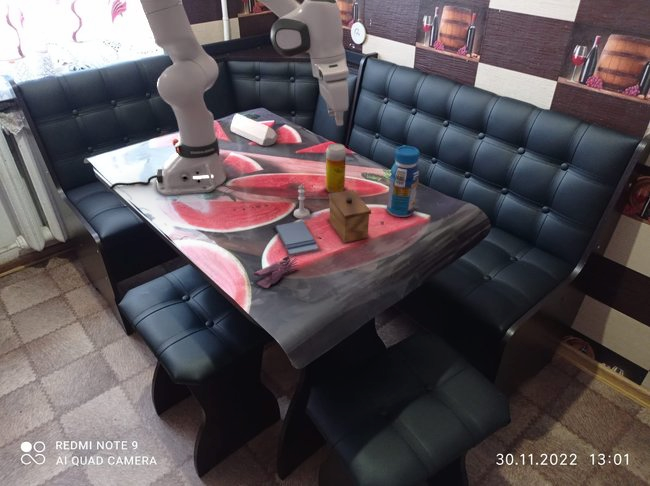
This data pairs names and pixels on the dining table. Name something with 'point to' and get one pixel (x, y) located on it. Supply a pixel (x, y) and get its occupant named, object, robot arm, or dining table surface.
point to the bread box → (349, 215)
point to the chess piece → (301, 205)
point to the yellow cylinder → (335, 167)
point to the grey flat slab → (296, 238)
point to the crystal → (253, 130)
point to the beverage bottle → (403, 182)
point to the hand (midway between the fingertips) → (335, 120)
